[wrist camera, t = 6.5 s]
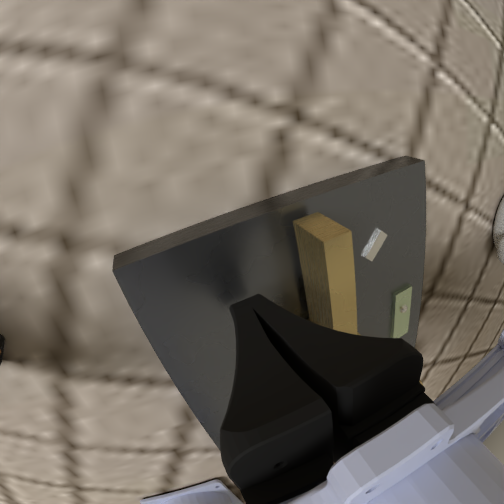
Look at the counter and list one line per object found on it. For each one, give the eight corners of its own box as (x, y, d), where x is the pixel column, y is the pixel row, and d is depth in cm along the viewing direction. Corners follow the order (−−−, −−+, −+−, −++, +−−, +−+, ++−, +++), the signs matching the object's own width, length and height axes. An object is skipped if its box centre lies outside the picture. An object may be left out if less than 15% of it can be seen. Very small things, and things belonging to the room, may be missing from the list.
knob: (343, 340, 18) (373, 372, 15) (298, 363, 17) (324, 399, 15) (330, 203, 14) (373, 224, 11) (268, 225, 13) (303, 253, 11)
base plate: (398, 373, 25) (411, 387, 23) (231, 458, 22) (239, 477, 20) (405, 155, 16) (431, 162, 15) (114, 255, 13) (112, 277, 11)
